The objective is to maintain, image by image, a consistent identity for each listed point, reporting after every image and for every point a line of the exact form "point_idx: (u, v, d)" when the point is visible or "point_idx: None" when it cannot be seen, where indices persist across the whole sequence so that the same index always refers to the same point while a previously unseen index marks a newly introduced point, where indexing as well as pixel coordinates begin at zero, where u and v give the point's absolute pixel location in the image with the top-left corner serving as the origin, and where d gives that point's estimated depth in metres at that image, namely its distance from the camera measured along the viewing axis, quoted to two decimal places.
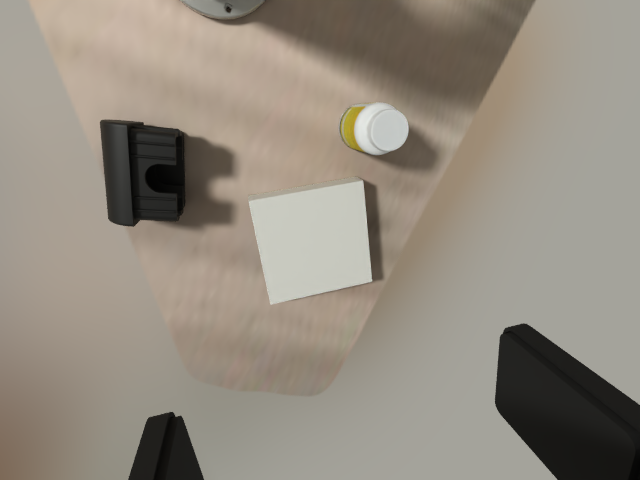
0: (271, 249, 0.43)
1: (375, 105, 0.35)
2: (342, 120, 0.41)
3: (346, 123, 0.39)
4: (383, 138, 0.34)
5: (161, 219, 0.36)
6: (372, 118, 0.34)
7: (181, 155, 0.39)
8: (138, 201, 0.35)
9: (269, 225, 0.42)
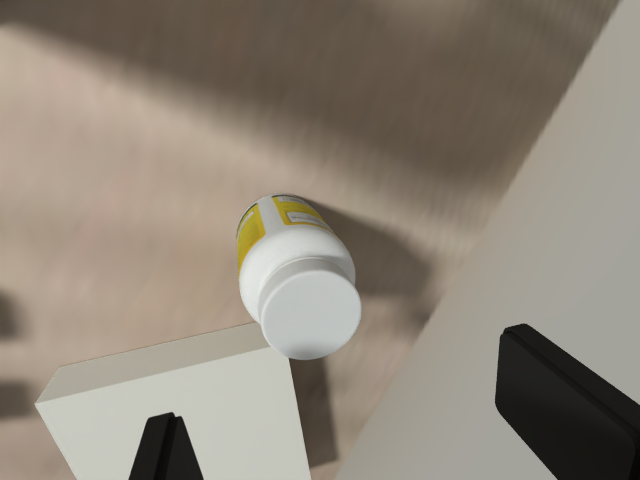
0: (104, 474, 0.22)
1: (284, 240, 0.14)
2: (238, 231, 0.20)
3: (238, 248, 0.18)
4: (296, 336, 0.13)
5: None
6: (267, 285, 0.13)
7: None
8: None
9: (92, 437, 0.21)
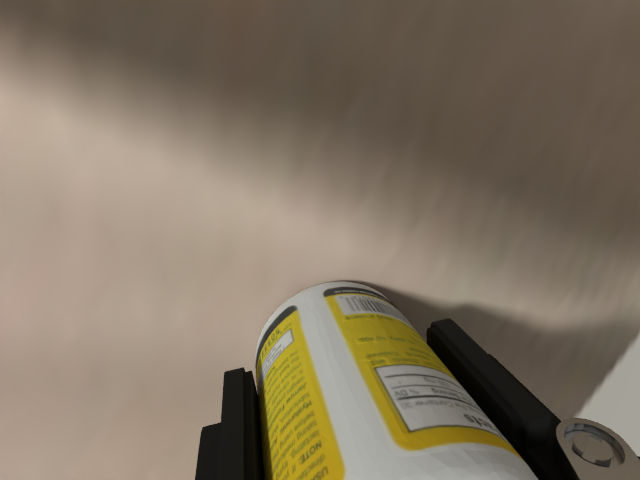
0: None
1: None
2: (260, 364, 0.10)
3: (263, 426, 0.08)
4: None
5: None
6: None
7: None
8: None
9: None
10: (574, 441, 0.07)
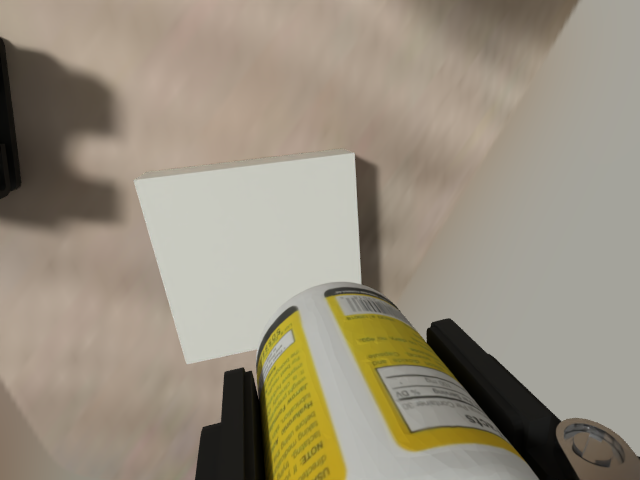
0: (184, 271, 0.24)
1: None
2: (260, 364, 0.10)
3: (263, 426, 0.08)
4: None
5: None
6: None
7: None
8: None
9: (178, 227, 0.23)
10: (574, 441, 0.07)
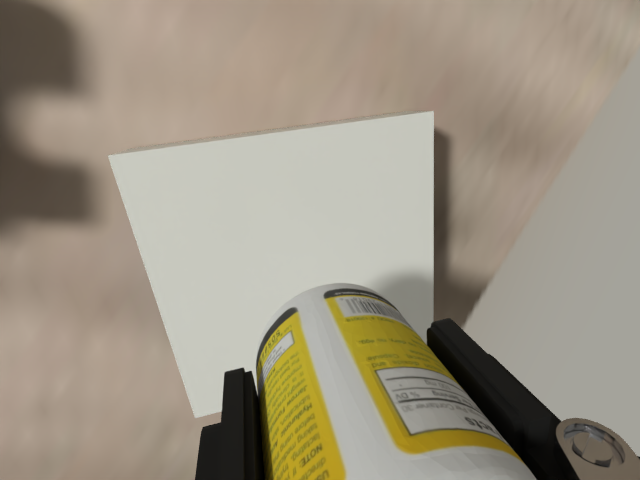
0: (188, 290, 0.16)
1: None
2: (260, 366, 0.10)
3: (263, 428, 0.08)
4: None
5: None
6: None
7: None
8: None
9: (178, 226, 0.15)
10: (574, 441, 0.07)
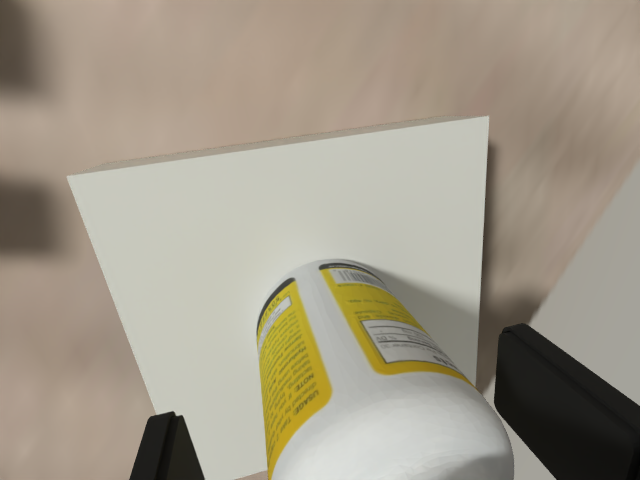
0: (176, 344, 0.13)
1: (384, 428, 0.06)
2: (261, 328, 0.12)
3: (262, 375, 0.10)
4: None
5: None
6: None
7: None
8: None
9: (162, 266, 0.12)
10: None
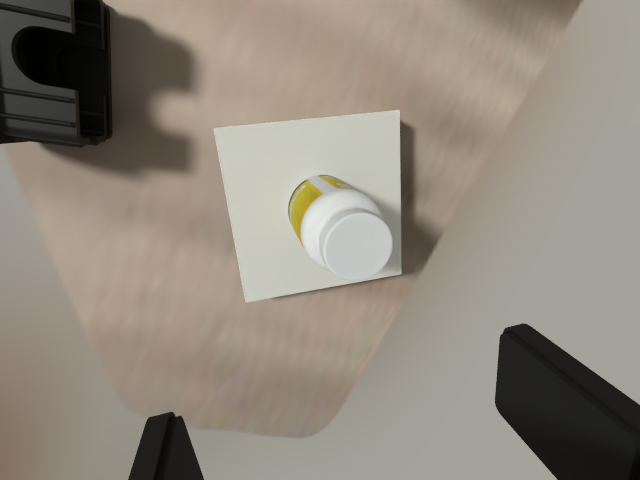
0: (249, 213, 0.27)
1: (338, 196, 0.20)
2: (291, 200, 0.26)
3: (294, 210, 0.24)
4: (345, 260, 0.19)
5: (48, 137, 0.20)
6: (328, 223, 0.19)
7: (100, 40, 0.23)
8: (0, 97, 0.19)
9: (247, 172, 0.26)
10: None
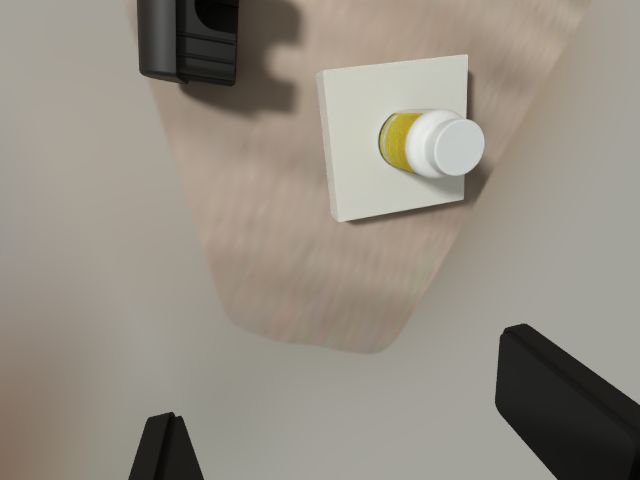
0: (346, 144, 0.33)
1: (438, 112, 0.26)
2: (383, 129, 0.32)
3: (391, 133, 0.30)
4: (450, 158, 0.25)
5: (213, 73, 0.26)
6: (436, 130, 0.25)
7: None
8: (184, 40, 0.25)
9: (346, 108, 0.32)
10: None
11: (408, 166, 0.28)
